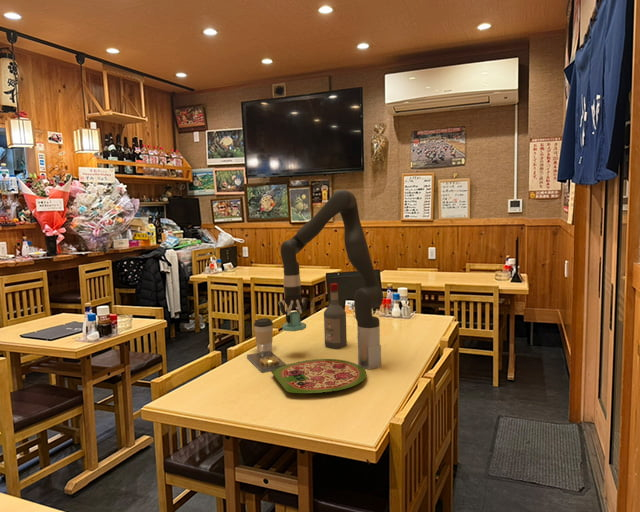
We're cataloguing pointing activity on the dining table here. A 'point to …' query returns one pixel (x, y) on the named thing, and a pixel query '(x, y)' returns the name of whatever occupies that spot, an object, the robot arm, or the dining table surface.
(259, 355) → the plate
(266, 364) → the sun gear
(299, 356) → the dining table surface
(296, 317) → the teal flanged hub
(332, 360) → the pizza
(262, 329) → the coffee cup
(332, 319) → the liquor
